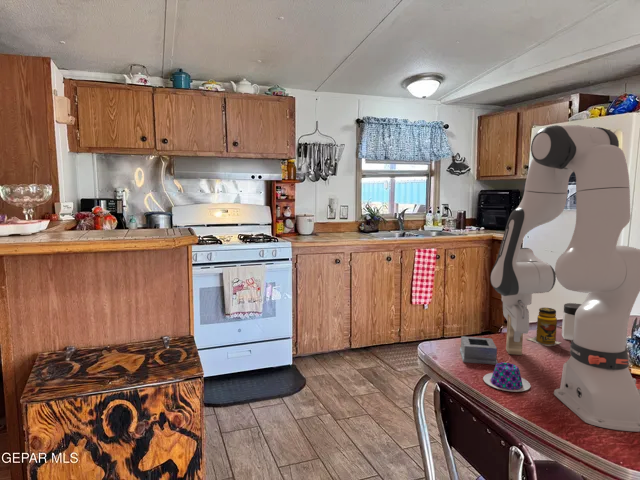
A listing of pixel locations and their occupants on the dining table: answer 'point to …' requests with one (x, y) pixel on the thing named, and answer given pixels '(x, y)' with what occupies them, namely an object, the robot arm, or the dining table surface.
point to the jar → (569, 320)
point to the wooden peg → (511, 345)
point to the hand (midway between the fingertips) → (514, 338)
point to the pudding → (507, 378)
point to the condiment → (546, 327)
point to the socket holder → (478, 350)
